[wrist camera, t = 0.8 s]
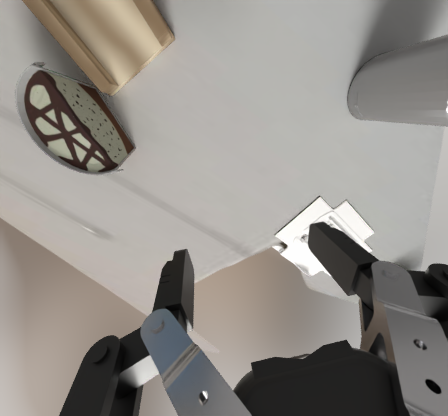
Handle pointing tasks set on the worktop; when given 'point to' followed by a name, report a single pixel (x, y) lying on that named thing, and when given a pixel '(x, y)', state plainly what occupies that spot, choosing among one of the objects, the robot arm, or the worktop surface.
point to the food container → (71, 122)
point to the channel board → (106, 36)
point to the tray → (316, 212)
